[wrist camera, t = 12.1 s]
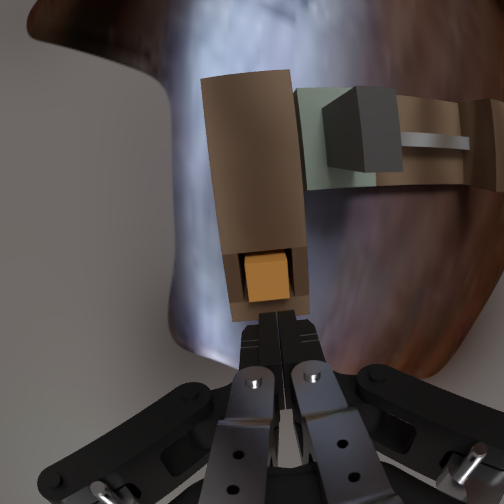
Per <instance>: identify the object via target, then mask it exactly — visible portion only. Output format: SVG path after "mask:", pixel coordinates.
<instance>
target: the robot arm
mask: <svg viewBox="0 0 504 504" xmlns="http://www.w3.org/2000/svg"><path fill="white" fill-rule="evenodd" d="M277 317H278V328H277V319H276V311H274V312H264V313H259V324H258V325H247V326H246V328H245V329H244V330H243V332H242V337H241V350H240V363H239V372H237V373H236V374H235V376H234V378H233V382H232V383H230V384H229V385H227V386H224V387H221V388H218V389H214V390H210V389H209V388H208V387H207V386H206V385H204V384H202V383H198V382H189V383H185V384H182V385H180V386H179V387H177V388H175V389H174V390H172V391H171V392H169V393H168V394H166V395H165V396H164V397H162V398H161V399H159V400H158V401H156V402H155V403H153V404H152V405H150V406H148V407H147V408H146V409H144V410H142V411H141V412H139V413H138V414H136V415H135V416H133V417H132V418H130V419H129V420H127V421H125V422H124V423H122V424H121V425H119V426H117V427H116V428H114V429H113V430H111V431H109V432H108V433H106V434H105V435H103V436H101V437H100V438H98V439H96V440H95V441H93V442H91V443H90V444H88V445H86V446H84V447H83V448H81V449H79V450H78V451H76V452H74V453H72V454H71V455H69V456H67V457H65V458H63V459H62V460H60V461H58V462H56V463H55V464H53V465H51V466H49V467H47V468H46V469H44V470H43V471H42V472H41V474H40V475H39V477H38V481H37V486H38V490H39V492H40V493H41V495H42V496H43V497H44V498H46V499H47V500H48V501H49V502H50V503H52V504H155V503H156V502H158V501H159V500H161V499H162V498H163V497H165V496H166V495H167V494H169V493H170V492H172V491H173V490H174V489H175V488H177V487H178V486H179V485H181V484H182V483H183V482H185V481H186V480H187V479H188V478H190V477H191V476H192V475H193V474H195V473H196V472H197V471H198V470H200V469H201V468H202V467H203V466H204V465H205V464H207V463H208V464H207V469H206V473H205V477H204V479H201V480H200V481H198V482H196V483H194V484H192V485H191V486H189V487H188V488H187V489H186V490H184V491H183V492H182V493H181V494H180V495H178V496H177V497H176V498H175V499H173V500H172V501H171V502H170V503H168V504H499V503H500V501H501V499H502V496H503V494H504V412H501V411H498V410H495V409H492V408H490V407H487V406H485V405H482V404H479V403H477V402H474V401H471V400H469V399H466V398H464V397H461V396H459V395H456V394H454V393H451V392H449V391H446V390H443V389H441V388H438V387H436V386H433V385H431V384H429V383H426V382H424V381H422V380H419V379H417V378H415V377H412V376H410V375H407V374H405V373H403V372H400V371H398V370H396V369H394V368H391V367H389V366H386V365H383V364H372V365H368V366H365V367H364V368H362V369H361V370H360V371H359V372H358V375H345V374H340V373H337V372H335V371H333V370H332V368H331V367H330V366H329V365H328V364H327V363H326V361H325V358H324V355H323V352H322V348H321V345H320V342H319V339H318V335H317V332H316V329H315V326H314V325H313V324H312V323H311V322H310V321H309V320H308V319H305V320H296V316H295V312H294V309H292V310H283V311H277ZM278 329H279V337H278ZM279 341H280V346H279ZM280 352H281V355H280ZM281 362H282V364H281ZM282 371H283V378H282ZM283 380H284V389H285V398H286V409H292V410H293V425H294V430H295V434H296V439H297V443H298V448H299V452H300V456H301V461H302V466H298V467H295V468H281V467H278V444H279V422H280V410H282V409H285V406H284V393H283ZM407 422H408V423H407ZM409 423H410V424H409ZM376 451H378V452H380V453H382V454H384V455H385V456H387V457H389V458H391V459H393V460H395V461H397V462H399V463H400V464H403V465H404V466H406V467H408V468H410V469H412V470H414V471H416V472H418V473H420V474H422V475H424V476H426V477H428V478H431V479H433V480H435V481H436V487H437V489H436V488H434V487H432V486H430V485H428V484H426V483H424V482H422V481H421V480H418V479H417V478H415V477H413V476H412V475H410V474H408V473H406V472H404V471H403V470H401V469H399V468H397V467H395V466H394V465H391V464H389V463H386V462H382V461H380V459H379V457H378V455H377V452H376Z"/></svg>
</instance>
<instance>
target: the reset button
mask: <svg viewBox="0 0 504 504" xmlns="http://www.w3.org/2000/svg"><path fill="white" fill-rule="evenodd" d="M245 272H246V280H247V288H248V295H249V302H256V301H266V300H276V299H285V298H290V294H289V279H288V265H287V258H286V255H285V252H284V249H276V250H266V251H257V252H247V253H245Z"/></svg>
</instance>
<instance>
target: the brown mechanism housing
mask: <svg viewBox="0 0 504 504" xmlns="http://www.w3.org/2000/svg"><path fill="white" fill-rule="evenodd" d="M201 89H202V99H203V108H204V118H205V127H206V135H207V144H208V152H209V161H210V169H211V177H212V184H213V192H214V200H215V207H216V215H217V222H218V229H219V236H220V243H221V250H222V257H223V264H224V270H225V277H226V283H227V290H228V296H229V302H230V309H231V315H232V321H233V322H239V321H250V320H259V313H264V312H274V311H276V318H278V317H277V311H283V310H292V309H294V312H295V316H299V315H307V314H310V311H309V280H308V258H307V239H306V223H305V209H304V196H303V191H306V189H304V188H303V183H302V172H301V161H300V151H299V141H298V132H297V123H296V114H295V106H294V98H293V90H292V83H291V76H290V69H289V70H271V71H258V72H248V73H238V74H230V75H223V76H216V77H209V78H203V79H201ZM396 98H397V106H398V114H399V123H400V132H401V144H402V158H403V172H378V173H376V186H388V185H421V184H465V185H469V186H474V187H478V188H482V189H486V190H490V191H494V192H504V102H501V101H498V100H494V99H482V100H475V101H469V102H462V103H453V102H447V101H441V100H434V99H427V98H419V97H411V96H401V95H396ZM276 249H284V252H285V255H286V258H287V265H288V279H289V294H290V298H285V299H276V300H266V301H256V302H249V295H248V288H247V280H246V272H245V253H247V252H257V251H266V250H276Z"/></svg>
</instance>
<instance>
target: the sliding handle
mask: <svg viewBox="0 0 504 504" xmlns="http://www.w3.org/2000/svg"><path fill="white" fill-rule="evenodd" d="M293 98H294V106H295V114H296V123H297V132H298V141H299V151H300V161H301V172H302V183H303V188H304V189H306V190H320V189H334V188H350V187H368V186H376V173H378V172H403V158H402V144H401V132H400V123H399V114H398V106H397V98H396V91H395V88H384V87H370V86H355V87H353V88H296V90H295V91H294V93H293Z"/></svg>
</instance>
